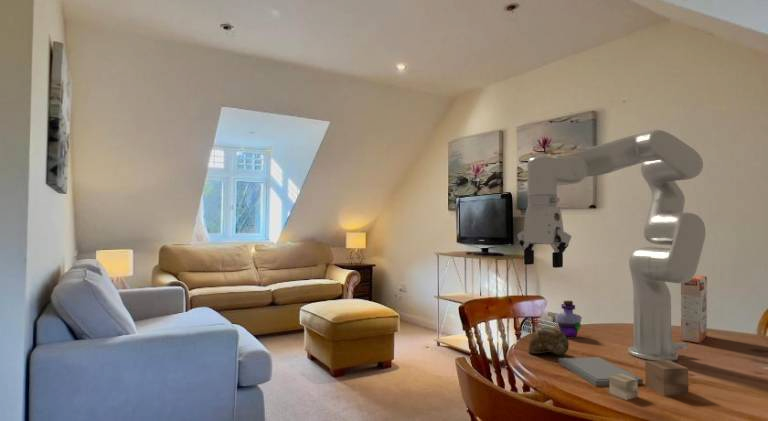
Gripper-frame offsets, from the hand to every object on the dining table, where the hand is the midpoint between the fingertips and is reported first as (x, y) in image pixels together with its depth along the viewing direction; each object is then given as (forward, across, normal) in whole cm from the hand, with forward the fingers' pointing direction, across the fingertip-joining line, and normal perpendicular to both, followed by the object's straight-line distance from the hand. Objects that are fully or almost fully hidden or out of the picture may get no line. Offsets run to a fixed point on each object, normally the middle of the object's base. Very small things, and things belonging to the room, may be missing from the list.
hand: (542, 265), depth 121 cm
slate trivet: (+27, -10, -9) cm, 30 cm away
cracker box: (+28, -3, -69) cm, 75 cm away
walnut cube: (+27, -25, -12) cm, 39 cm away
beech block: (+27, -22, 0) cm, 35 cm away
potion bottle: (+28, +19, -34) cm, 48 cm away
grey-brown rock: (+28, +8, -11) cm, 30 cm away
